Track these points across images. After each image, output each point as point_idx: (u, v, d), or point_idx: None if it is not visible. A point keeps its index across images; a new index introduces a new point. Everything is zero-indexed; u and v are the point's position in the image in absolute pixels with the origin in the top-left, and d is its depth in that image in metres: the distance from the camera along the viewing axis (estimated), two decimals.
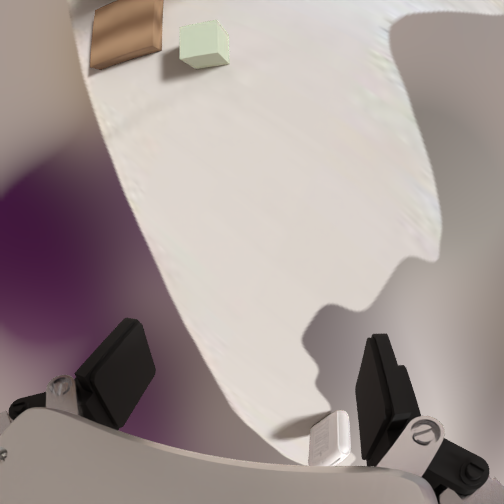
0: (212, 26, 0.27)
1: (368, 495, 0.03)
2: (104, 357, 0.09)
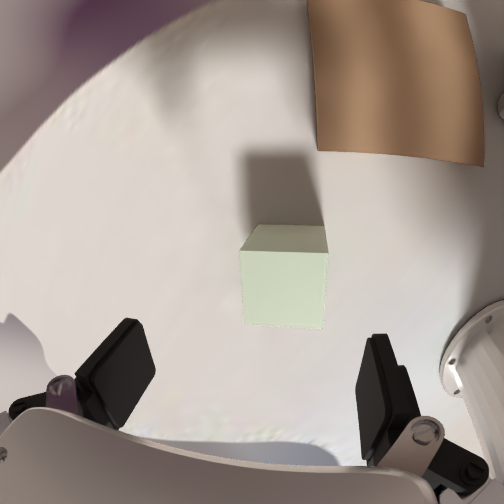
0: (308, 320, 0.17)
1: (368, 495, 0.03)
2: (104, 357, 0.09)
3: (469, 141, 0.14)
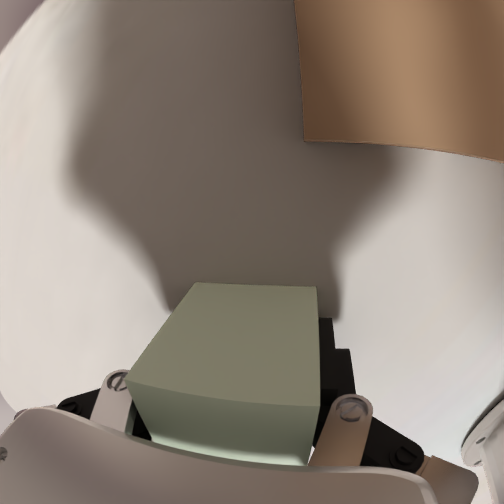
0: None
1: (368, 495, 0.03)
2: None
3: None
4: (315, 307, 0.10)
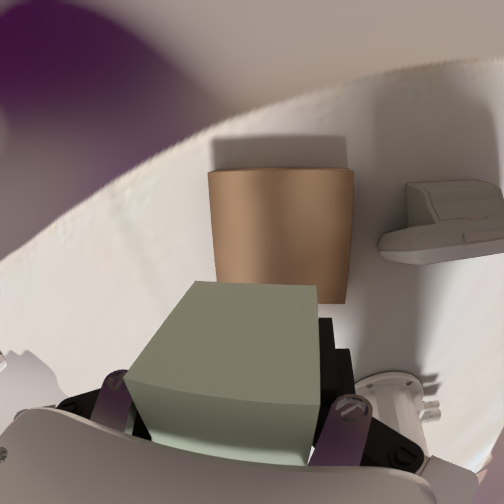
0: None
1: (368, 495, 0.03)
2: None
3: (331, 288, 0.25)
4: (315, 306, 0.10)
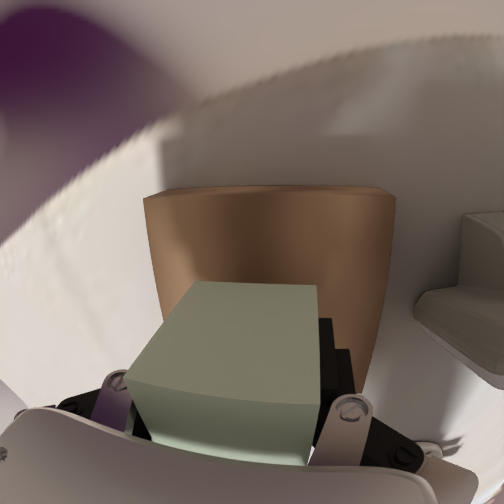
0: None
1: (368, 495, 0.03)
2: None
3: None
4: (315, 305, 0.10)
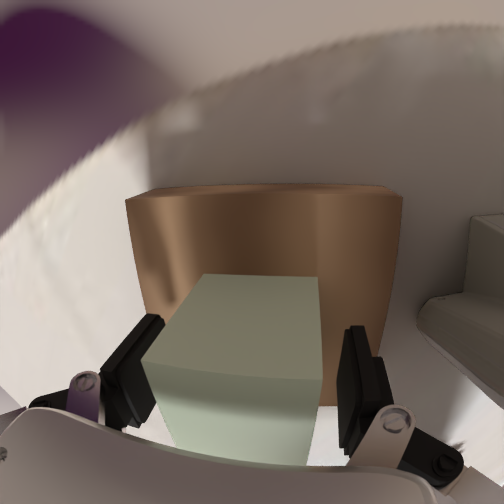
0: (280, 458, 0.08)
1: (368, 495, 0.03)
2: (129, 352, 0.09)
3: None
4: (316, 295, 0.11)
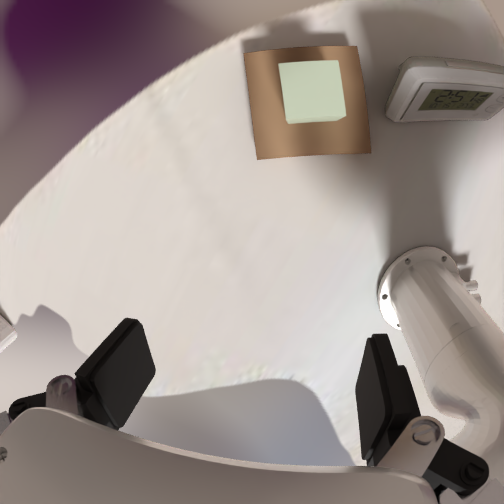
0: (334, 109, 0.21)
1: (368, 495, 0.03)
2: (104, 357, 0.09)
3: (357, 138, 0.27)
4: None
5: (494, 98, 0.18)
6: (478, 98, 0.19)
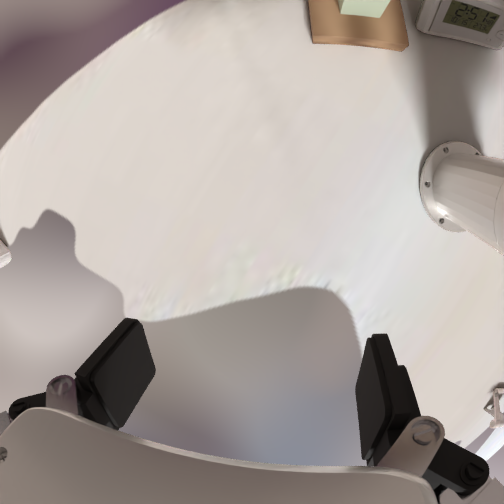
0: None
1: (368, 495, 0.03)
2: (104, 357, 0.09)
3: (397, 32, 0.24)
4: None
5: (501, 22, 0.15)
6: (488, 19, 0.16)
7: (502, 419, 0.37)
